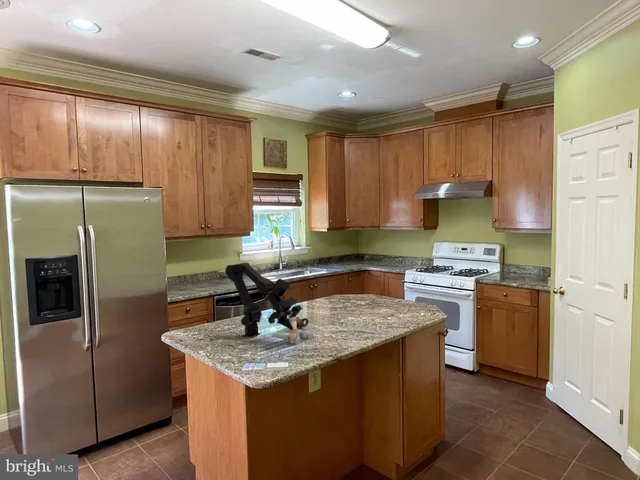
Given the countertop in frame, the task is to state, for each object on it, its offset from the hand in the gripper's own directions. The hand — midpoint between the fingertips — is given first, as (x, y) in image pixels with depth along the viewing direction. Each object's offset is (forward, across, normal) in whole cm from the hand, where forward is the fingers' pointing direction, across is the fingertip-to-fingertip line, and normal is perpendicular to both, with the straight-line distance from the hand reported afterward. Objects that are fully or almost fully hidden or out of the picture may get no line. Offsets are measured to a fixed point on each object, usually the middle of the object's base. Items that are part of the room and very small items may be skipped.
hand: (295, 328), depth 194 cm
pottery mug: (-5, +20, +17) cm, 27 cm away
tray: (-3, +8, +14) cm, 17 cm away
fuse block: (+5, +4, +7) cm, 9 cm away
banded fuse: (+4, 0, +6) cm, 7 cm away
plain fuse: (+4, +9, +6) cm, 12 cm away
